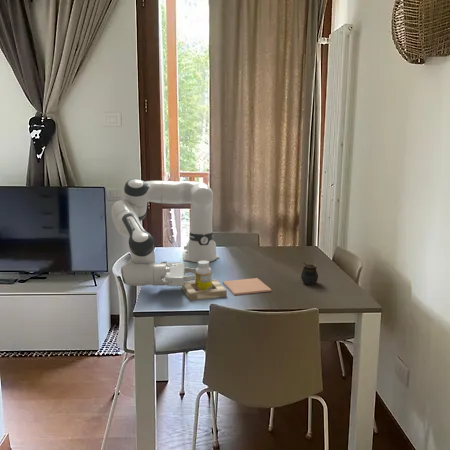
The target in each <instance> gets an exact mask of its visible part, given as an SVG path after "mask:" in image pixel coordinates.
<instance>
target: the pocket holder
mask: <svg viewBox="0 0 450 450" xmlns="http://www.w3.org/2000/svg"><path fill="white" fill-rule="evenodd" d="M181 289H182V290H183V292H184V294H185V295H186V296H187V297H186V298H188V299H189V301H195V300H196V301H197V300H207V299H215V298H224V297H226V298H227V296H228V294H227V293H228V292H227V289H226V288H225V287H224V286H223V285H222V284H221V283H220V282H219V281H218V279H216V278H215V279H212V289H211V290H201V291H196V288H195V280H192V281H188V282H184V285H183V286H181Z"/></svg>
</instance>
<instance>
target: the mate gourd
mask: <svg viewBox="0 0 450 450" xmlns="http://www.w3.org/2000/svg"><path fill="white" fill-rule="evenodd" d="M300 278H301V280H302V282H303V283H304V285H315V284H316V283H317V282H318V279H319V274H318V271H317V265H316V264H314V263H305V262H303V269H302V271H301V276H300Z"/></svg>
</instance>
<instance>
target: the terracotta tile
mask: <svg viewBox="0 0 450 450" xmlns="http://www.w3.org/2000/svg"><path fill="white" fill-rule="evenodd" d="M222 284H223V285H224V286H225V287H226V288H227V289H228V290H229V291H230V293H231V294H233V295H234V296H241V295H250V294H258V293H268V292H272V289H271V288H270V287H269V286H268V285H267V284H265V283H264V282H263V281H262V280H261V279H259V278H258V277H254V278H242V279H233V280H223V281H222Z"/></svg>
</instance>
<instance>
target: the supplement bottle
mask: <svg viewBox="0 0 450 450" xmlns="http://www.w3.org/2000/svg"><path fill="white" fill-rule="evenodd" d="M195 268H196V270H195V273H194V275H196V280H194V281H195V288H196V289H195V291H201V290H211V289H212V280H213V278H212V277H213V275H212V273H213V272H212V271H213V270H212V268H211V267H210V262H209V261H199V262H197V267H195Z"/></svg>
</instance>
